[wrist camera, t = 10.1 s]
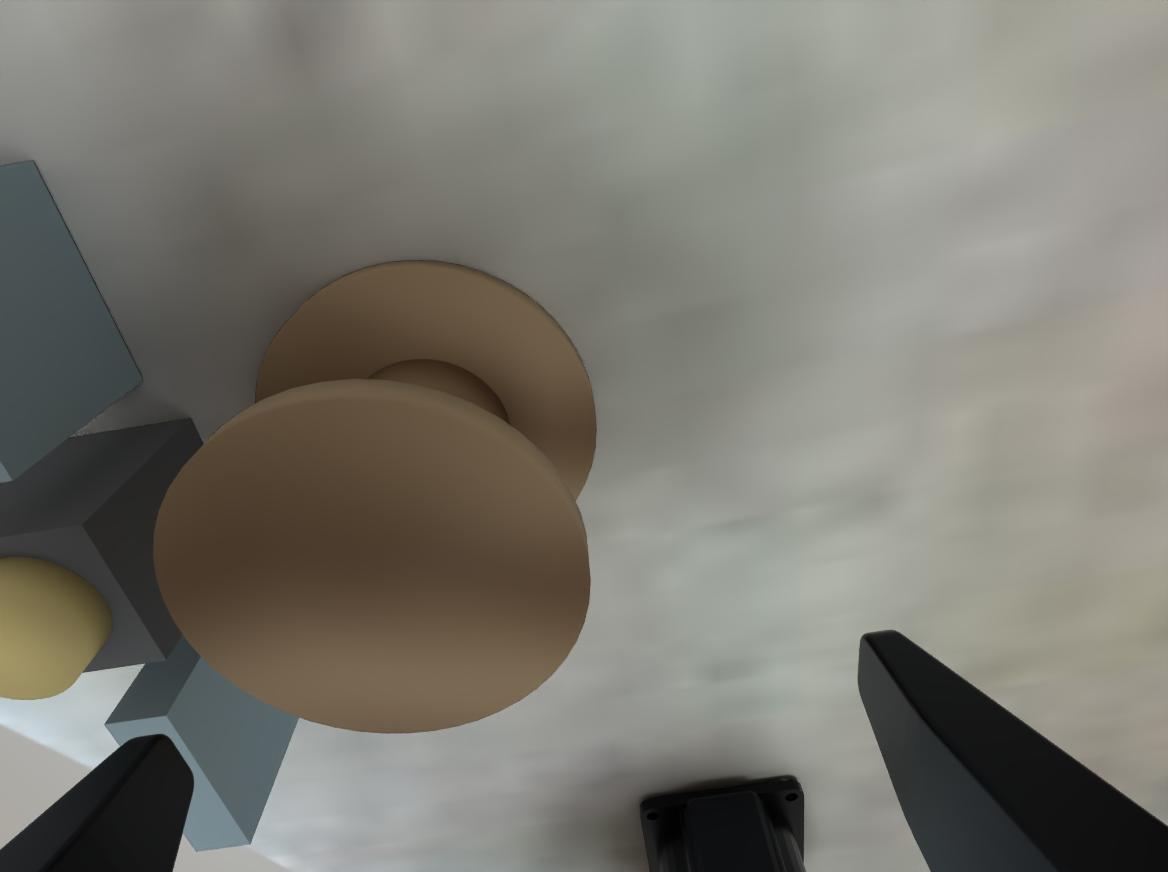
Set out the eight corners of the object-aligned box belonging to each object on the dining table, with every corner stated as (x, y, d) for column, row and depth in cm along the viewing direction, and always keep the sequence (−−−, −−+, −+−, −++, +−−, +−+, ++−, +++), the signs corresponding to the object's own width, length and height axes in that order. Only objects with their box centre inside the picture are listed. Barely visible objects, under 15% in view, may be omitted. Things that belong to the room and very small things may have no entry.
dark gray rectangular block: (191, 417, 19) (44, 560, 13) (247, 533, 21) (139, 701, 15) (51, 440, 19) (-152, 591, 13) (120, 554, 21) (-33, 727, 15)
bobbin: (614, 527, 21) (641, 717, 15) (328, 570, 21) (239, 774, 15) (567, 233, 17) (578, 329, 11) (211, 291, 17) (20, 417, 11)
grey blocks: (304, 702, 24) (250, 844, 20) (260, 708, 24) (196, 851, 20) (32, 160, 15) (-173, 197, 11) (-36, 171, 16) (-266, 213, 11)
